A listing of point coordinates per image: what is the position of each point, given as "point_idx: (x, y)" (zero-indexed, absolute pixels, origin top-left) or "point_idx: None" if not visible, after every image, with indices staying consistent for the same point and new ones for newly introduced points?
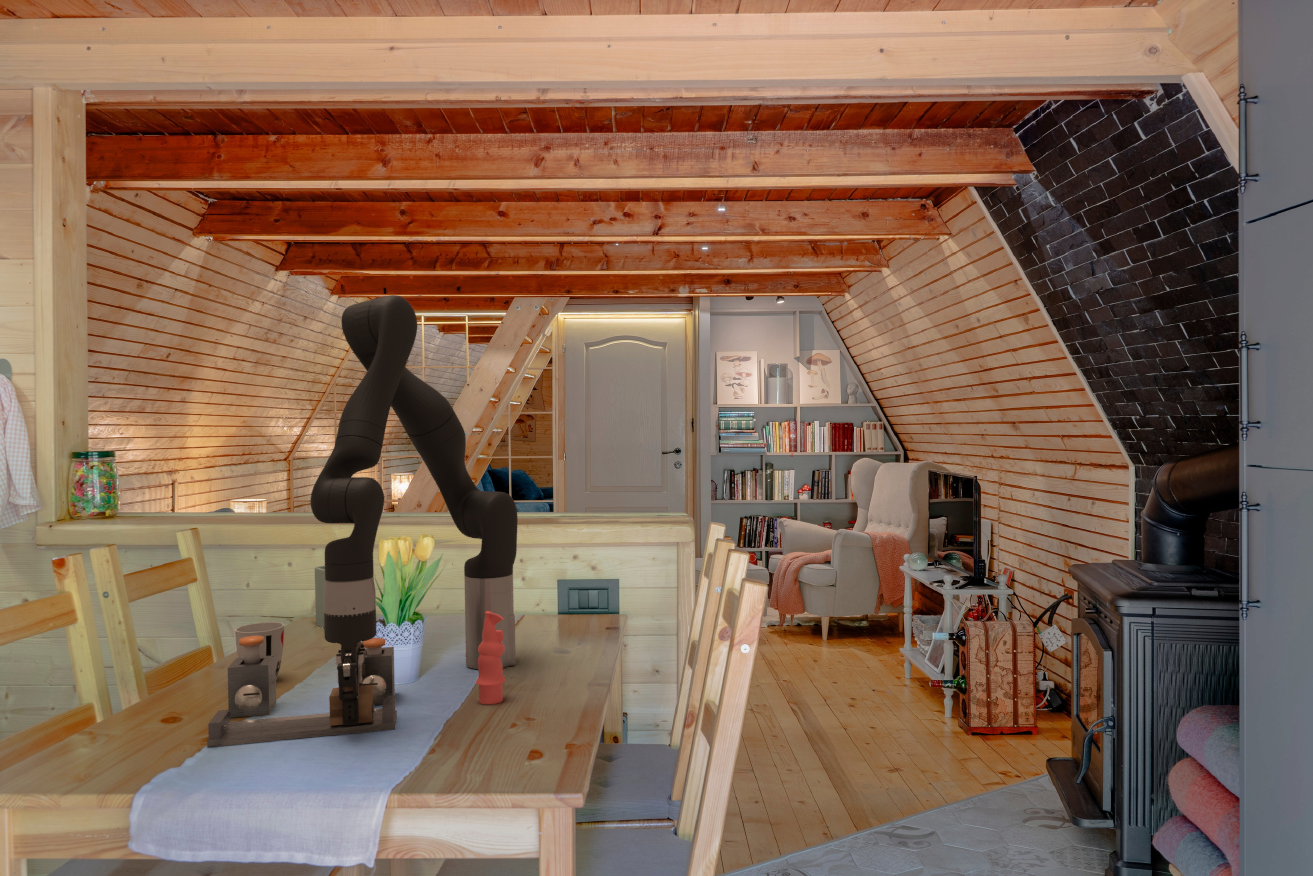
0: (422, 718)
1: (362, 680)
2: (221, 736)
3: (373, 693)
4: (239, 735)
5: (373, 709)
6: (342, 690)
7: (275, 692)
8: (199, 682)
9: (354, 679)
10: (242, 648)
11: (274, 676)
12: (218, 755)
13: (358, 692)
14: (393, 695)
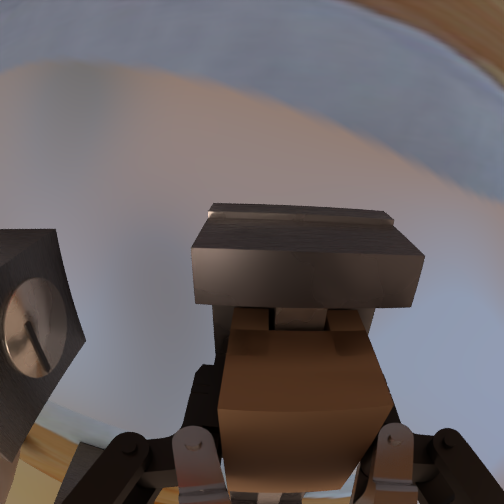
0: (271, 87)
1: (144, 438)
2: (295, 502)
3: (245, 375)
4: (296, 492)
5: (279, 326)
6: (445, 486)
7: (77, 460)
8: (29, 461)
9: (501, 494)
10: (10, 487)
11: (72, 488)
12: (344, 484)
13: (389, 448)
14: (12, 234)
